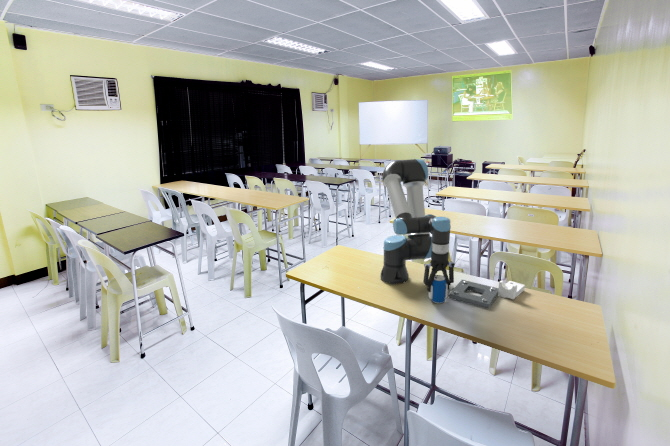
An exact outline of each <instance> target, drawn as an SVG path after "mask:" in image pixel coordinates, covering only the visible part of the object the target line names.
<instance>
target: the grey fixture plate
mask: <svg viewBox="0 0 670 446" xmlns="http://www.w3.org/2000/svg"><path fill="white" fill-rule="evenodd" d="M498 290H499V287H495V286H490V285H487V284H482V283H478V282H475V281H470V280H467V279H466V280H465V279H461V280H460V281H459V282H458V283H457V284H456V285H455V287H453V288H452V289H451V291H450V292H449V293H448V299H451V300H455V301H457V302H460V303H461V302H462V303H463V304H464V303H465V304H468V305H471V306H474V307H475V306H476V307H479V308H482V309H486V310H490V308H491V306H492V305H493V303H494V302H495V300H496V299H497V298H498V297H499V296H498ZM468 292H474V293H477V294H481V295H480V296H479V295H475V294H472V293H468Z"/></svg>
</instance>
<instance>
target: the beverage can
mask: <svg viewBox="0 0 670 446" xmlns="http://www.w3.org/2000/svg"><path fill="white" fill-rule="evenodd" d="M432 286H433V296H432V299H430V301H432V302H433V303H435V304H442V303H444V302H445V300H446V298H445V289H446V279H445V277H444V275H441V274H436V275H435V277H434V280H433V282H432Z"/></svg>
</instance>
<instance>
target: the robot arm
mask: <svg viewBox="0 0 670 446" xmlns="http://www.w3.org/2000/svg"><path fill="white" fill-rule="evenodd" d="M428 178H429V169H428V165H427V162H426V161H425V160H424V159H421V158H420V159H416V158H414V159H412V158H411V159H396V160H393V161H391V162H390V163H388V164H387V165H386V166H385V167H384V169H383V172H382V177H381V180H382V182H383V186H384V187H385V188H386V190H387V193H388V197H389V200H390V203H391V207H392V210H393V214H394V217H395V219H393V220H392V221H393V222H392V227H393V228H392V229H393V232H394V235H391V236H388V237H386V238H385V239H384V241H383V266H382V269H381V272H380V280H381V281H382V282H384V283H386V284H389V285H390V284H391V285H401V284H405V283H407V282H408V281H409V278H410V276H409V272H408V268H407V266H406V264H407V263H406V261H412V260H425V259H426V260H427V259H430V260H431V261H430V262H429V263H424V264H423V266H424V272H423V273H424V274H423V284H424V285H425V286H426V290H427V292H428V298H429V299H430V300H431V299H432V296H433V286H432V282H433V280H434V277H435V275H437V274H438V272H440V271H441V272H442V276H444V277H445V279H446V289H445V299H447V298H448V291H450V286H451V285H452V284H454V282H455V278H454V277H455V274H454V273H455V272H454V268H455V264H456V263H454V262H453V261H452V260H451V261H449V258H450V257H449V256H450V255H449V254H450V253H449V252H450V238H451V237H450V235H451V229H452V228H451V227H452V226H451V219H450V218H449V217H446V216H436V215H434V214H431V213H430V214H426V210H425V208H426V207H425V200H424V199H425V198H424V189H423V187H424V186H425V184H426V181H427V180H428ZM402 184H403V186H402ZM403 187H405V189H406V194H405V192H404V189H403ZM405 195H406V196H407V197H406V196H405ZM395 234H396V235H395ZM405 235H407V237H406V236H405ZM447 267H448V270H447ZM430 269H431V272H430Z"/></svg>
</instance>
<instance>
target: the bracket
mask: <svg viewBox="0 0 670 446" xmlns="http://www.w3.org/2000/svg"><path fill="white" fill-rule="evenodd" d="M525 287H526V285H525V284H523V283H519V282H515V281H513V280H509V281H508V282H506V283H505V281H504V280H499V283H498V288H499V290H498V296H497V297H501V298H504V299H506V298H507V299H511V300H515V299H516V298H517V297H518V296H519V295H521V293H523V292H524V291H525Z"/></svg>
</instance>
